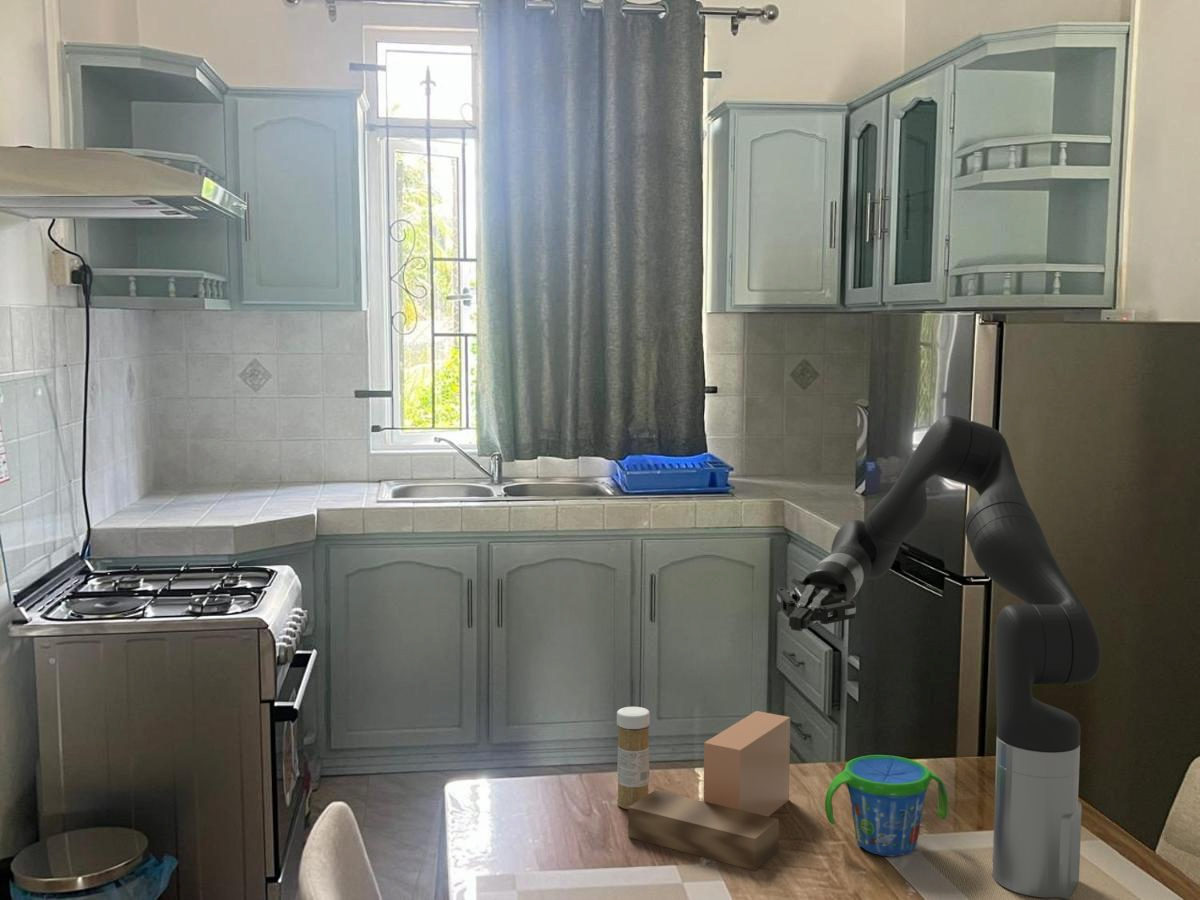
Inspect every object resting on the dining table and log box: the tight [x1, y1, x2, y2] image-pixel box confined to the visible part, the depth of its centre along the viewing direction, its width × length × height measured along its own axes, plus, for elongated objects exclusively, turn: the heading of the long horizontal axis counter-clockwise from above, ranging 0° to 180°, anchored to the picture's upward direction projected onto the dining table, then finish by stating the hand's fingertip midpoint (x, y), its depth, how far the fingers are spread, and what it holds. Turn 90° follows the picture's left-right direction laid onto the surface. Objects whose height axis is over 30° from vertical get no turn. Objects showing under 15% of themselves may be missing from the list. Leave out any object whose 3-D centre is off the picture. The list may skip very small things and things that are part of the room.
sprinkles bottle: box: [616, 706, 651, 810], centre depth 159 cm, size 5×5×13 cm
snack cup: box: [824, 754, 950, 857], centre depth 145 cm, size 16×10×10 cm
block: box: [703, 710, 791, 817], centre depth 155 cm, size 5×16×12 cm, turn 147°
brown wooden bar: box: [627, 789, 780, 872], centre depth 146 cm, size 18×7×4 cm, turn 57°
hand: (795, 624), depth 166 cm, fingers closed
